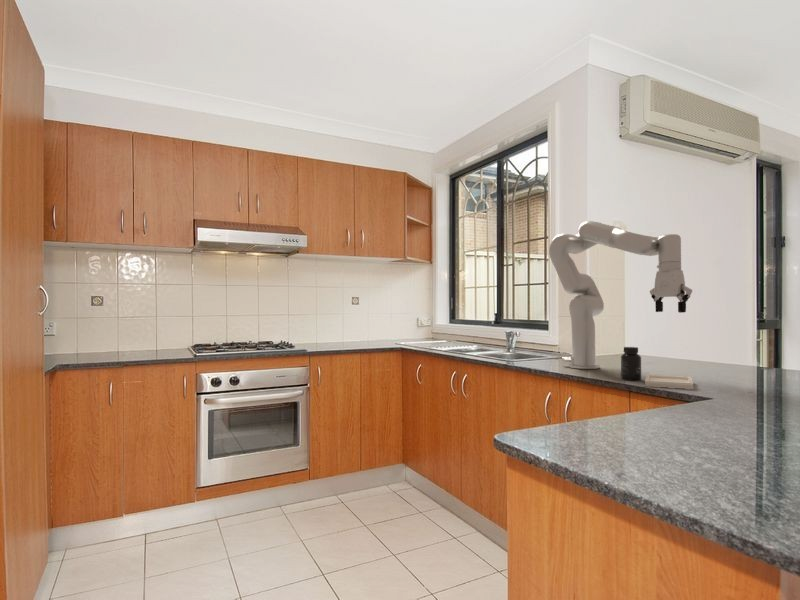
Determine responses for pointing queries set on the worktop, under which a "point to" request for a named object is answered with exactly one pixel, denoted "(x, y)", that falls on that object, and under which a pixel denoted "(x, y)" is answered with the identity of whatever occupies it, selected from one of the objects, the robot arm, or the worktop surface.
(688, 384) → the dish
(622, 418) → the worktop surface
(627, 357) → the supplement bottle
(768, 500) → the worktop surface
